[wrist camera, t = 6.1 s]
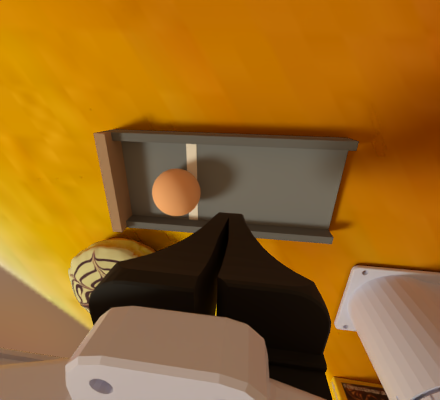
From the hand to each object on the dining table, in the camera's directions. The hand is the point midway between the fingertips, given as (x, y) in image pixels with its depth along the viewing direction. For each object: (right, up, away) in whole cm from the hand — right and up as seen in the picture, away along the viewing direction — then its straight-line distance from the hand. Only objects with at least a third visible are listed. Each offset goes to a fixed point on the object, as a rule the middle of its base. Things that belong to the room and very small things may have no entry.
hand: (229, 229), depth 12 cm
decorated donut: (-10, -6, +13) cm, 17 cm away
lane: (0, +3, +7) cm, 7 cm away
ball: (-4, +2, +5) cm, 7 cm away
